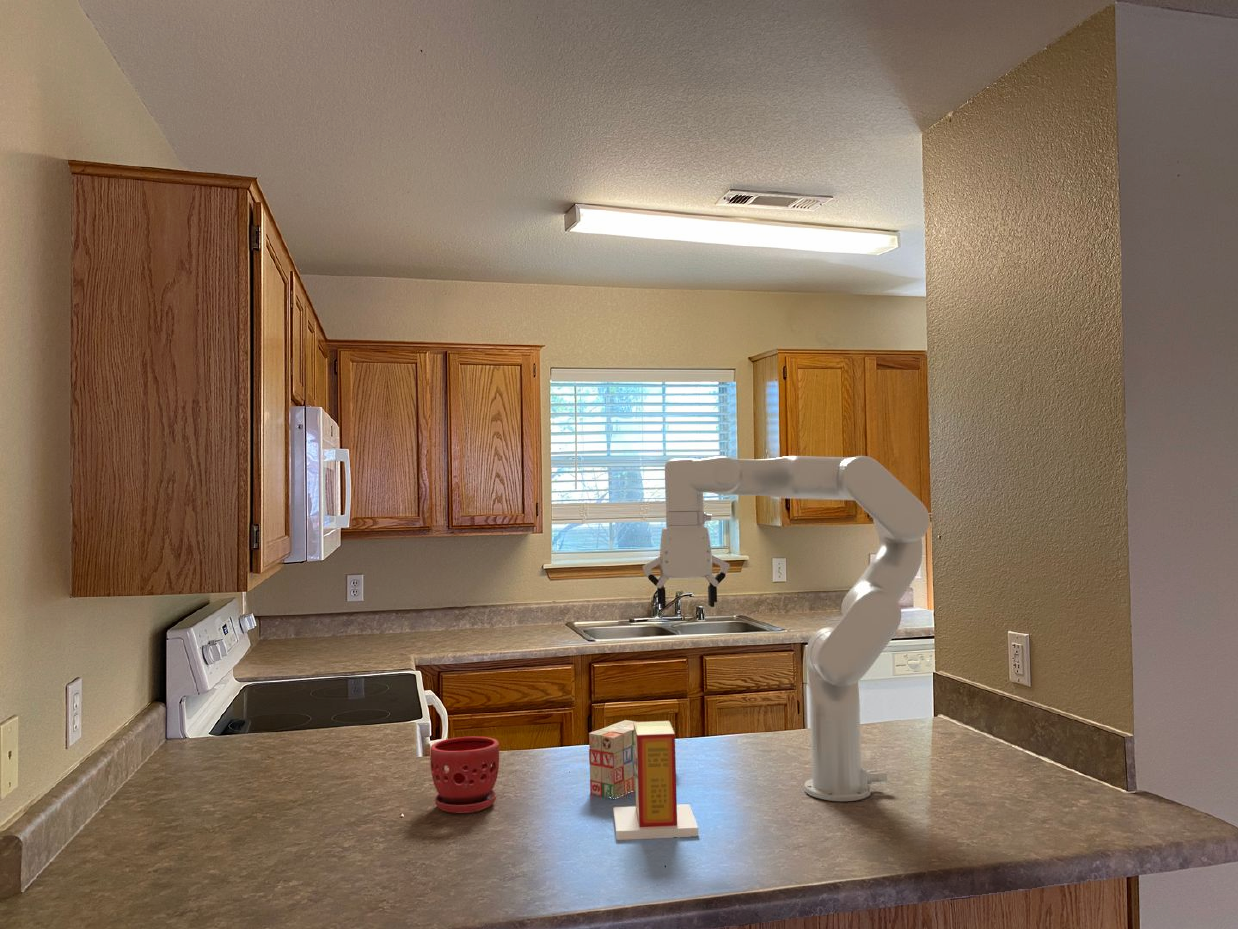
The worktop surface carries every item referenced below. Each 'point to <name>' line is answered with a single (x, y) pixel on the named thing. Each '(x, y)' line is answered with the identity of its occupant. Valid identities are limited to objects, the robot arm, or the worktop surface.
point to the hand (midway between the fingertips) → (687, 607)
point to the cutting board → (630, 827)
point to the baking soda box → (655, 774)
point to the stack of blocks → (612, 760)
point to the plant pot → (465, 773)
